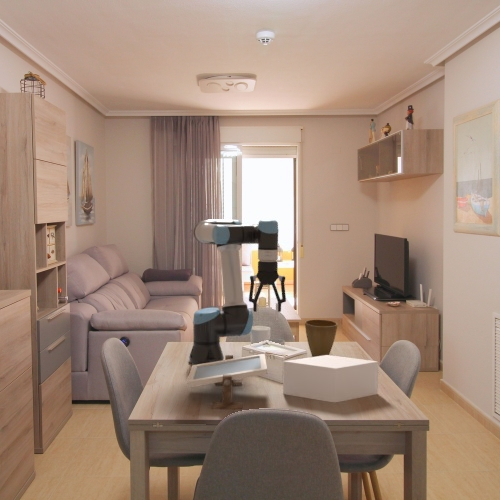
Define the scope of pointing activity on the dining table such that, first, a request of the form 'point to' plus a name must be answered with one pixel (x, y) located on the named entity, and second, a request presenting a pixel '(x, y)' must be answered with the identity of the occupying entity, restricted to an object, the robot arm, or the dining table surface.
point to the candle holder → (259, 334)
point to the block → (330, 378)
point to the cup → (277, 341)
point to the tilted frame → (227, 370)
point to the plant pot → (320, 336)
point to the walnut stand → (227, 392)
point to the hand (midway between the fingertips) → (267, 319)
